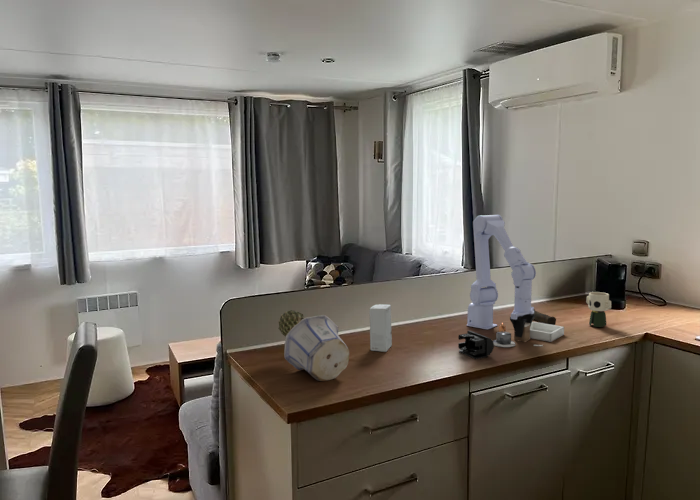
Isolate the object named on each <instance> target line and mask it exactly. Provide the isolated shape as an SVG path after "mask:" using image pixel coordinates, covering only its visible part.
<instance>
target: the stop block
mask: <svg viewBox="0 0 700 500" xmlns="http://www.w3.org/2000/svg"><path fill="white" fill-rule="evenodd" d="M513 332H514V333H513V334H514V338H513V340H514V341H519V342H524V343H526V342H528V341H529V340H530V341H531V338H530V323H526V322H525V325H524V329H523V335H522V337H516V335H515V331H514V330H513Z"/></svg>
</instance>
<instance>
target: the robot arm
mask: <svg viewBox="0 0 700 500" xmlns="http://www.w3.org/2000/svg"><path fill="white" fill-rule="evenodd" d="M505 225H506V223H505V220H503V217H502V215H501V214H489V215H488V214H487V215H486V214H485V215H482V214H481V215H477V216H476V217H475V218H474V220H473V221H472V228H473V242H474V257H475V258H474V260H475V261H474V262H475V275H476V277H475V278H476V280H475V281H473V282H472V284H470V293H469V298H470V301H471V302H470V303H469V304H468V306H467V319H466V320H467V324H466V326H467V327H471V328H472V327H473V328H477V329H483V330H490V329H493V328H494V327H497V326H498V324H496V323H494V305H495V304H496V301H498V299H499V293H498V289H497V283H495V281H493V280H492V278H491V263H490V247H489V245H490V243H489V239H490V238H491V237H492V236H494V237H495V239H496V240H497V241H498V243H499V244H500V246H501V248H502V249H503V250H504V253H503V256H504V258H505V260H506V262H507V263H508V265H509V266H510V268H511V270H512V271H511V278H512V280H513V285H514V303H513V305H514V307H513V311H512V312H511V313H510V316H509V320H510V322H511V324H512V327H513V332H514V331H515V335H516V337H522V335H523V329H524V325H525V322H526V323H530V326H531V323H532V322H534V320H535V319H534V317H535V314H534V309H535V307H534V306H532V294H533V293H532V291H533V290H532V287H533V280H534V279H535V278H536V276H537V275H536V274H537V272H536V268H535V266H534V264H532V263H529V261H527V260H526V258H525V257H524V255H523V254H522V252H521V250H520V248H518V247H516V246H514V244H513V242H512V240H511V239H510V237H509V234H508V232H507V231H506V229H505V228H506V227H505Z"/></svg>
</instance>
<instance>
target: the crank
mask: <svg viewBox="0 0 700 500" xmlns="http://www.w3.org/2000/svg"><path fill="white" fill-rule="evenodd" d="M506 330H507V327H506V325H504V322H503V321H502V322H500V325H498V331H497V332H496V335H495V336H496V337H495V338H496V339H495V340H496V342H497V343H500V344H510V343H511V341H512V333H511V332H509V331H506Z"/></svg>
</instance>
